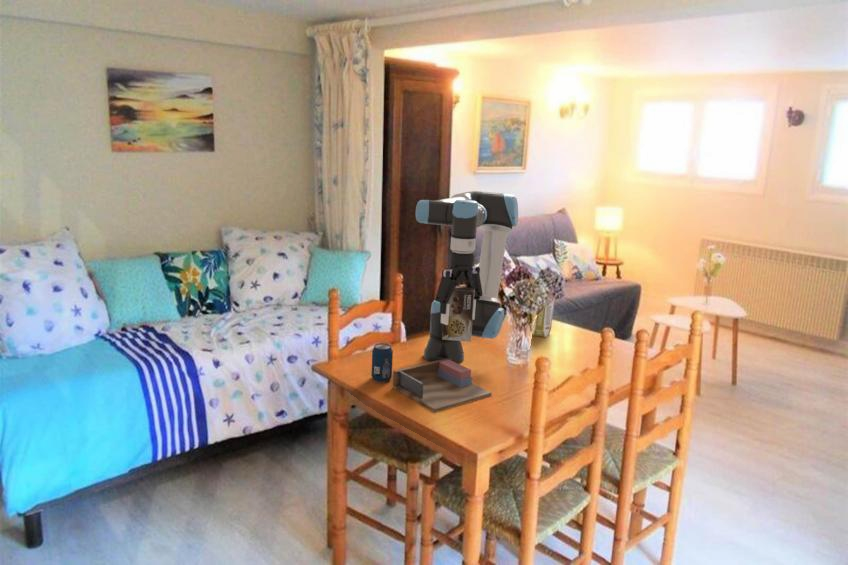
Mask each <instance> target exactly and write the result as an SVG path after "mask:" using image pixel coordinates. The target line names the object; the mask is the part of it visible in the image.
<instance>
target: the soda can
mask: <svg viewBox="0 0 848 565" xmlns="http://www.w3.org/2000/svg"><path fill="white" fill-rule="evenodd" d="M393 351H394V350H393V348H392V345H391V344H389V343H385V342H384V343H383V342H382V343H381V342H380V343H376V344H374V346H373V349H372V350H371V352H372V354H371V377H372V380H373V381H374V382H377V383H387V382H389V381H390V380H391V379H392V378H393V355H394V354H393V353H394V352H393Z"/></svg>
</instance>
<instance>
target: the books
mask: <svg viewBox="0 0 848 565" xmlns="http://www.w3.org/2000/svg"><path fill="white" fill-rule="evenodd" d="M437 376H439V377H441V378H443V379H445V380H447V381H449V382H451V383H453V384H455V385H457V386H459V387H464V386H468V385H471V384H472V383H473V377H472V369H470V368H467V367H466V366H464V365H461V364H460V363H455V362H453V361H451V360H446V361H442V362H439V369H438V375H437Z"/></svg>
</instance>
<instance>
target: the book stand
mask: <svg viewBox="0 0 848 565" xmlns="http://www.w3.org/2000/svg"><path fill="white" fill-rule="evenodd" d="M446 360H451V358H446V359H441V360H437V361H433V362H429V361H428V362H426V363H421V364H420V363H419V364H417V365H413V366H408V367H403V368H399V369H396V370H392V389H394V390H396V391H398V393H401V394H402V395H404V396H406V397H408V398H409V399H412V401H414V402H416V403H418V404H420V405H421V406H423V407H424V408H426V409H428V410H430V411H431V412H434V413H437V412H440V411H445V410H447V409H451V408H454V407H458V406H461V405H463V404H467V403H471V402H474V401H478V400H481V399H484V398H487V397H491V396H492V392H491V391H489V390H488V389H485V388H483V387H481V386H480V385H477V384H475V383H473V382H472V384H471V385H468V386H464V387H459V386H457V385H455V384H453V383H451V382H449V381H447V380H445V379H443V378H441V377H439V376H437V375H438V369H439V362H442V361H446ZM399 371H402V372H404V373H405V374H407V375H409V376H411V377H413V378H415V379H417V380H418V381H420V382H422V383H423V398H419V397H417V396H415V395H414V394H412V393H410V392H408V391H407V390H405V389H403V388H401V387H400V386H398V381H399Z"/></svg>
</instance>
